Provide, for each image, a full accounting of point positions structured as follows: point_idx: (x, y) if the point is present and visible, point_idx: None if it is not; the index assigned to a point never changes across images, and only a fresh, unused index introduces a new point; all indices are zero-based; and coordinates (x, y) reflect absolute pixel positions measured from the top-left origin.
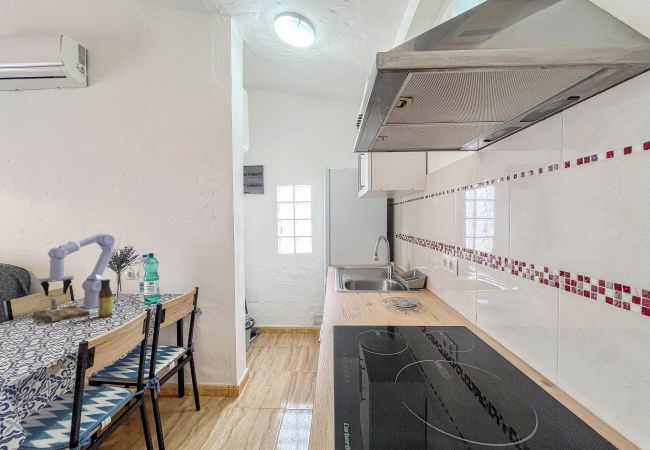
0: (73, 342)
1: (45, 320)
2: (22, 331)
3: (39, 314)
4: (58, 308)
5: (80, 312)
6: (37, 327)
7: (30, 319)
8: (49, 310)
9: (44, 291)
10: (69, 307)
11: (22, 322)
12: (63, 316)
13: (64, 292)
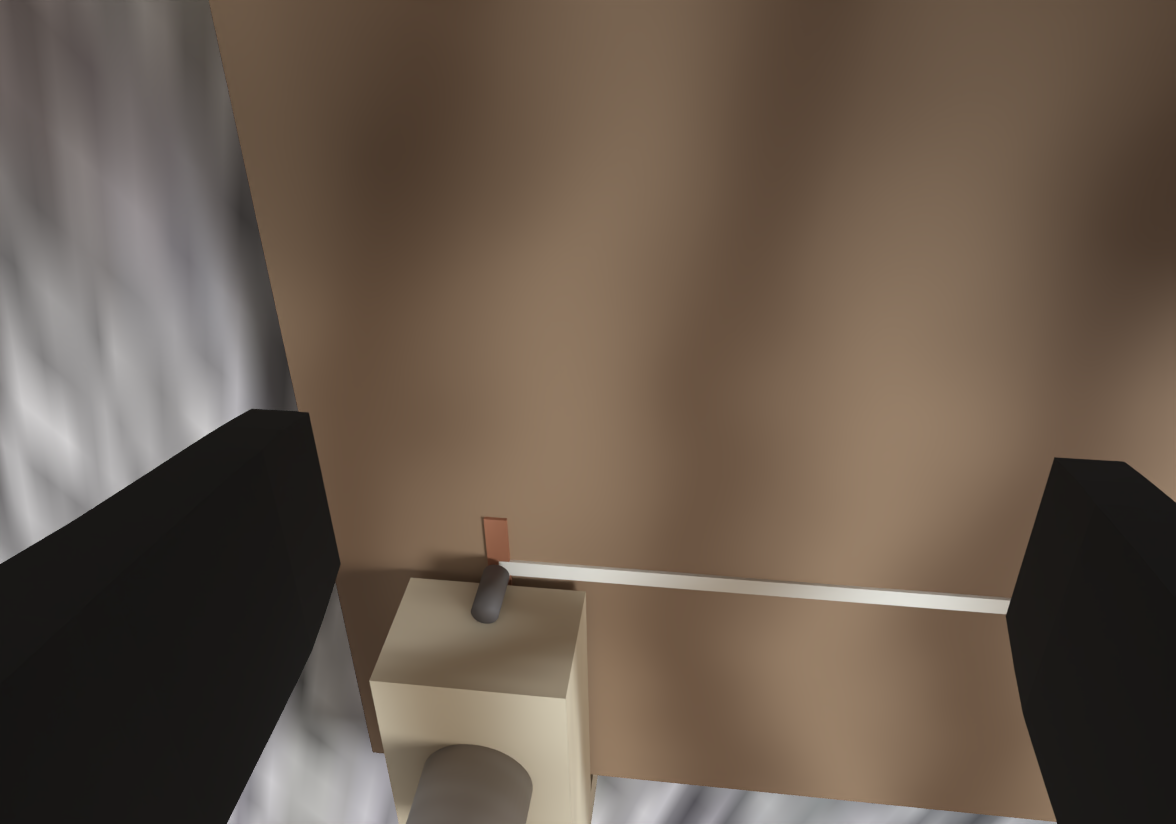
0: None
1: None
2: None
3: (311, 382)
4: (561, 787)
5: (924, 784)
6: (276, 792)
7: (198, 287)
8: (394, 784)
9: (81, 533)
10: (1126, 147)
11: (84, 408)
12: (623, 765)
13: (1025, 665)
